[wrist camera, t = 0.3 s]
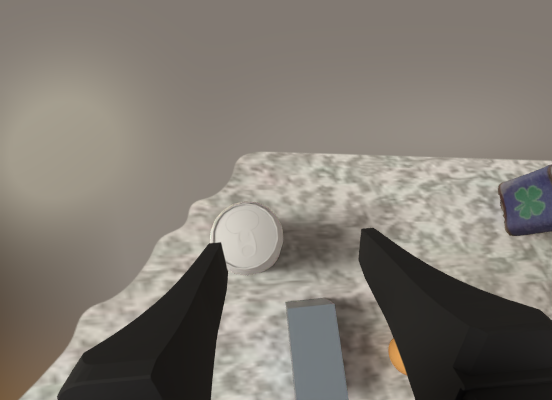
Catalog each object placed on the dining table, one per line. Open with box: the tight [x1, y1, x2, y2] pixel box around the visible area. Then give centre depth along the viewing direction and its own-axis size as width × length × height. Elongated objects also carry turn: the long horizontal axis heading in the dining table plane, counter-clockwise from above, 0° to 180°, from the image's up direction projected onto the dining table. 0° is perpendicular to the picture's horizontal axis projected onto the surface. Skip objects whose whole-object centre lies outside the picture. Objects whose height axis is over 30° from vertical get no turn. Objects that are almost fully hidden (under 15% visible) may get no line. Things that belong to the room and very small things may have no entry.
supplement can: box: [210, 201, 283, 275], centre depth 34 cm, size 8×8×15 cm
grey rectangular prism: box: [286, 298, 349, 400], centre depth 35 cm, size 12×6×6 cm, turn 6°
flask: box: [498, 165, 552, 236], centre depth 38 cm, size 9×3×11 cm, turn 177°
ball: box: [389, 338, 407, 375], centre depth 35 cm, size 5×5×5 cm
